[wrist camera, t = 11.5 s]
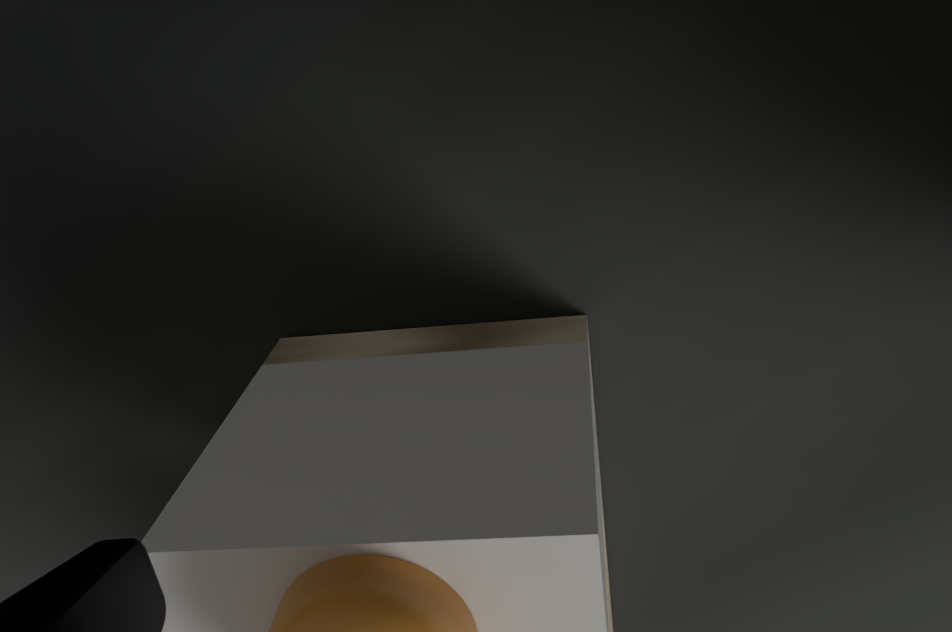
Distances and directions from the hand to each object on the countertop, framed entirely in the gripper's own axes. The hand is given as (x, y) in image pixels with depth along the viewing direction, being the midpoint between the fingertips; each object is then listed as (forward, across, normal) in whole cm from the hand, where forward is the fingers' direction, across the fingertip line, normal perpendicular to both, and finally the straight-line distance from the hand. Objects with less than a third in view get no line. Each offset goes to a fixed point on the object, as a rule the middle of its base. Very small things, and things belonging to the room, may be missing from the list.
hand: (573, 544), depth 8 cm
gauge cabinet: (+11, +4, +6) cm, 13 cm away
